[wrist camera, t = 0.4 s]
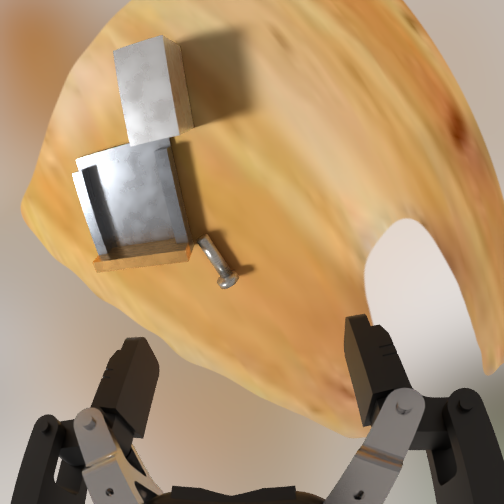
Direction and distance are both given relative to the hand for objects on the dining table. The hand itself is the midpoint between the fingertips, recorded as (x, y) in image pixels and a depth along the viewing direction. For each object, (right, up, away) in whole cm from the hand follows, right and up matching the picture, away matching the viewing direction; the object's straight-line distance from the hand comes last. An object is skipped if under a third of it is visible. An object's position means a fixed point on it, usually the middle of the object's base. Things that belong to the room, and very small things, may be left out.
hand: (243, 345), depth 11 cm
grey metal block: (-9, +22, +18) cm, 30 cm away
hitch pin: (-4, +3, +28) cm, 28 cm away
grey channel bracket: (-14, +9, +25) cm, 30 cm away
